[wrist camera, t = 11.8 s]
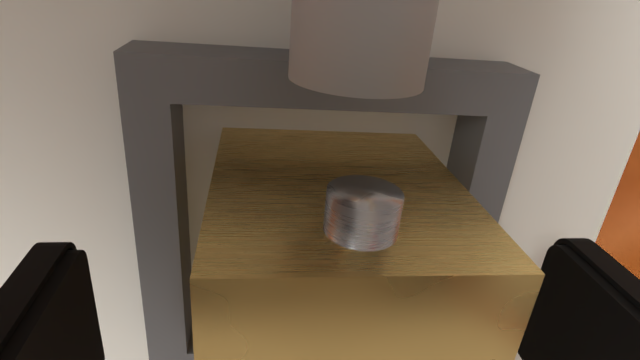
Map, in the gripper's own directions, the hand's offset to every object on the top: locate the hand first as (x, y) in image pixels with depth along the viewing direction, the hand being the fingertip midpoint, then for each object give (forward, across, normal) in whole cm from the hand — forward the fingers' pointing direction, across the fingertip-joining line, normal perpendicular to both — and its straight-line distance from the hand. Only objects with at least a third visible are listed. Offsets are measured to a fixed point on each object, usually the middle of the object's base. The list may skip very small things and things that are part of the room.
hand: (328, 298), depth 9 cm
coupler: (+4, 0, 0) cm, 4 cm away
